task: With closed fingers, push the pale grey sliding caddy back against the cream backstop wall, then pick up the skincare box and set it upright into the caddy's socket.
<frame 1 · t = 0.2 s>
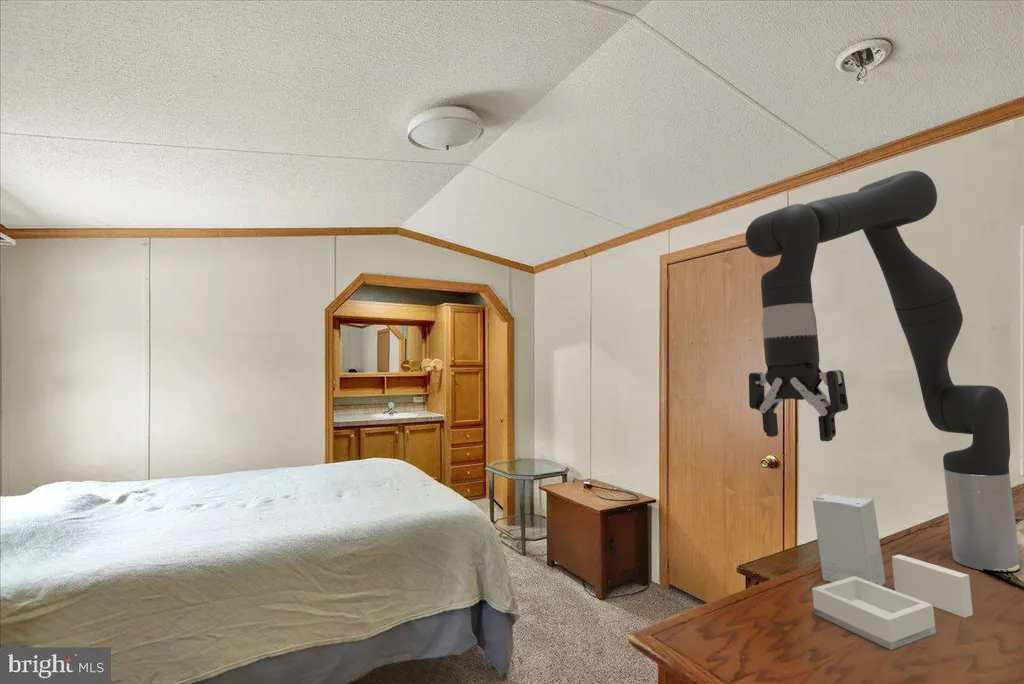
hand: (798, 438, 80), 28 cm above the table, fingers open, 8 cm apart
skincare box: (852, 583, 92), on the table
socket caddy: (871, 609, 78), point 2 cm above the table, slide at 8.0 cm
backstop wall: (932, 603, 82), on the table
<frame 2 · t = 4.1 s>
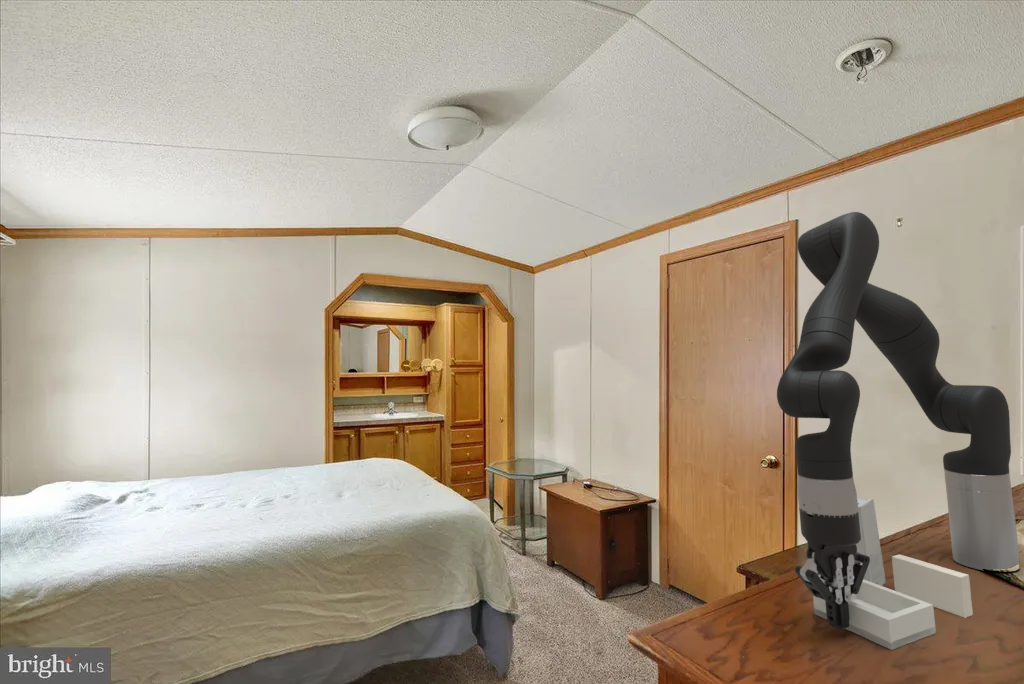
hand: (838, 626, 75), 1 cm above the table, fingers closed
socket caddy: (871, 609, 78), point 2 cm above the table, slide at 8.0 cm, touching gripper
everything else where it was.
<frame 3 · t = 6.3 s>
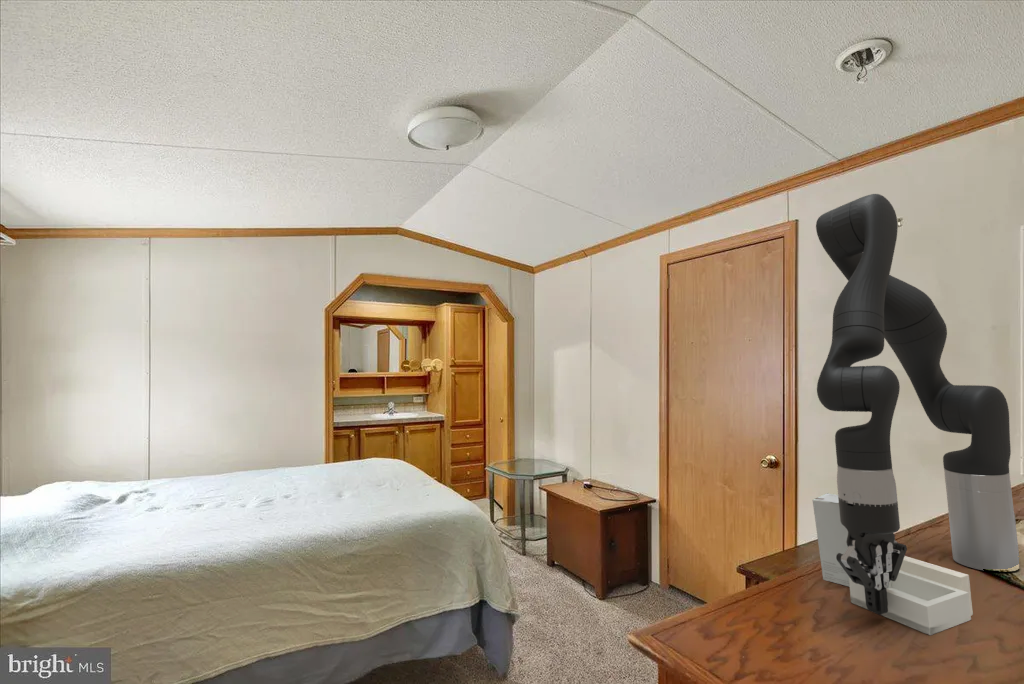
hand: (877, 611, 78), 2 cm above the table, fingers closed
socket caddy: (907, 597, 81), point 2 cm above the table, slide at -0.3 cm, touching backstop wall, gripper
everything else where it was.
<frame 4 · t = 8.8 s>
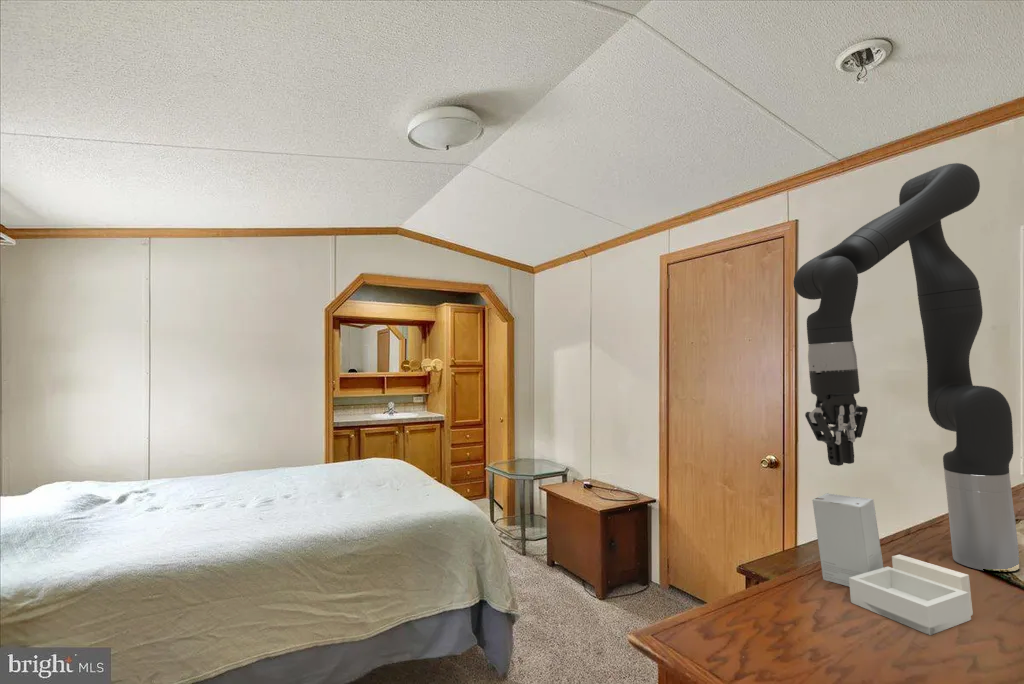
hand: (841, 463, 93), 21 cm above the table, fingers closed
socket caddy: (907, 597, 81), point 2 cm above the table, slide at -0.3 cm, touching backstop wall
everything else where it was.
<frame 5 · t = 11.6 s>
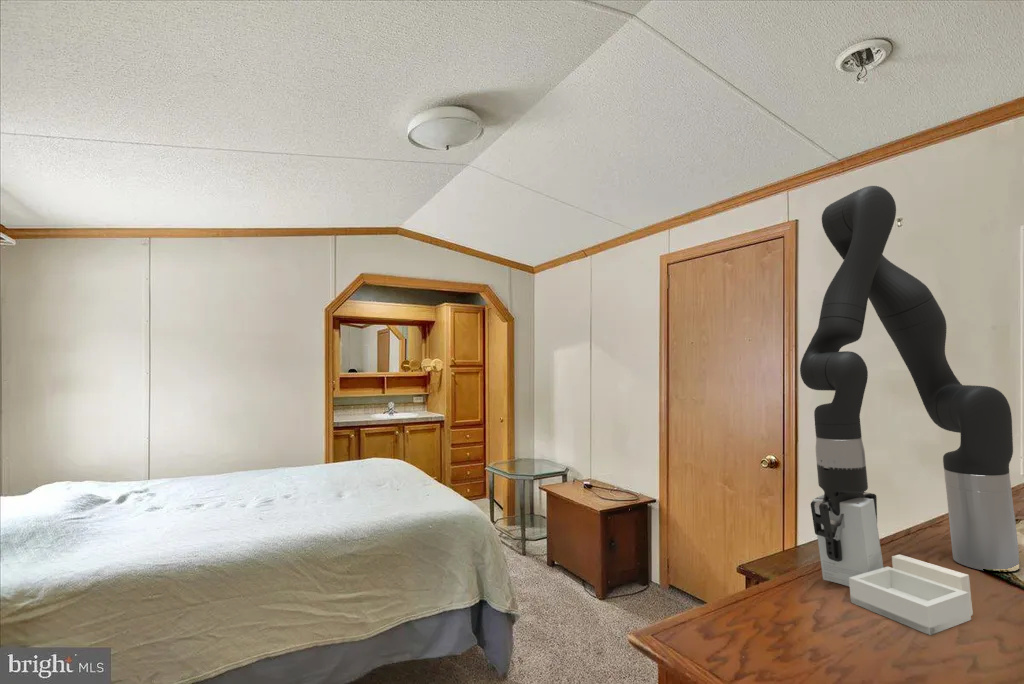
hand: (848, 556, 92), 5 cm above the table, fingers closed on skincare box, 6 cm apart
skincare box: (851, 583, 92), on the table, touching gripper
everything else where it was.
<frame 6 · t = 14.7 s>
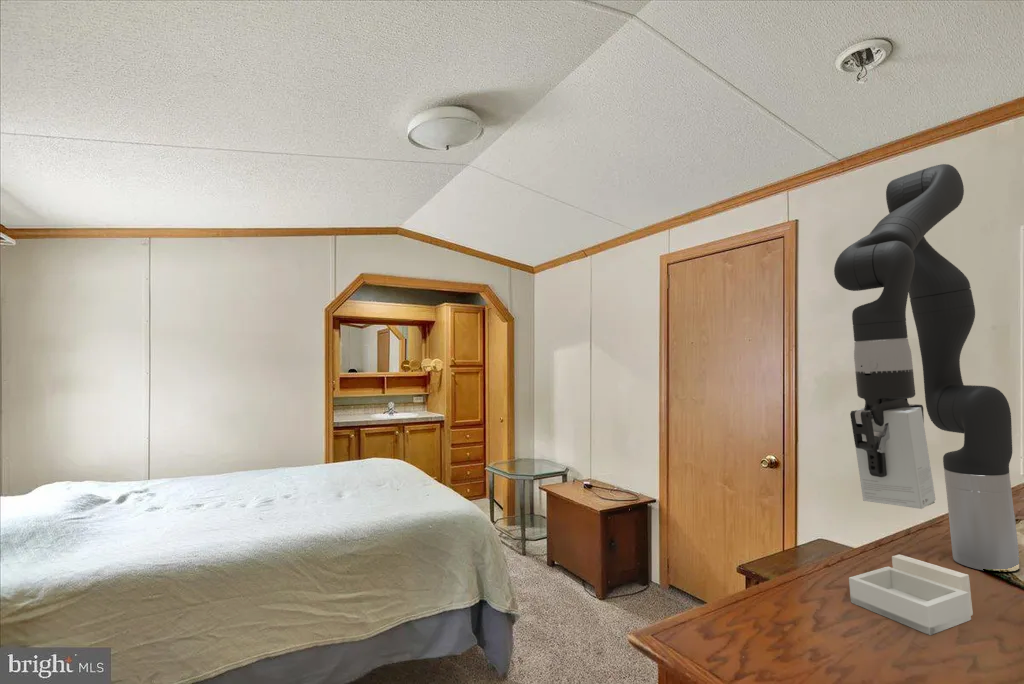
hand: (893, 472, 82), 21 cm above the table, fingers closed on skincare box, 6 cm apart
skincare box: (896, 503, 81), point 17 cm above the table, touching gripper
everything else where it was.
when the fingers open (7 cm above the table, at t = 17.9 s): skincare box drops 1 cm, resting on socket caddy.
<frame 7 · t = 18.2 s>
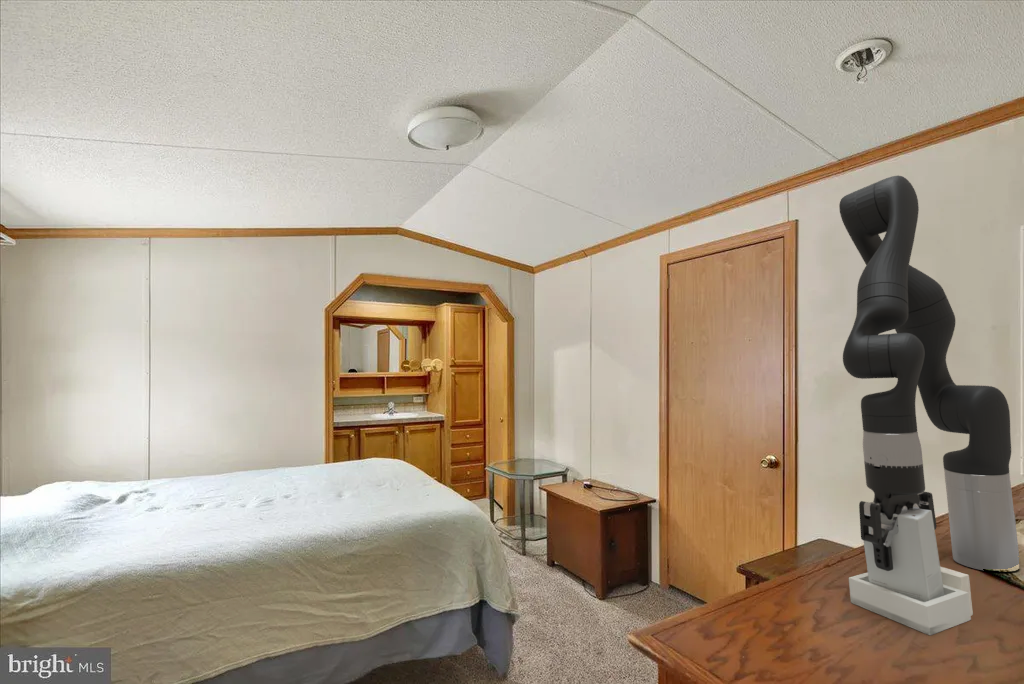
hand: (902, 563, 81), 7 cm above the table, fingers open, 8 cm apart
skincare box: (905, 606, 80), point 1 cm above the table, touching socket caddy
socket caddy: (906, 597, 81), point 2 cm above the table, slide at -0.3 cm, touching skincare box
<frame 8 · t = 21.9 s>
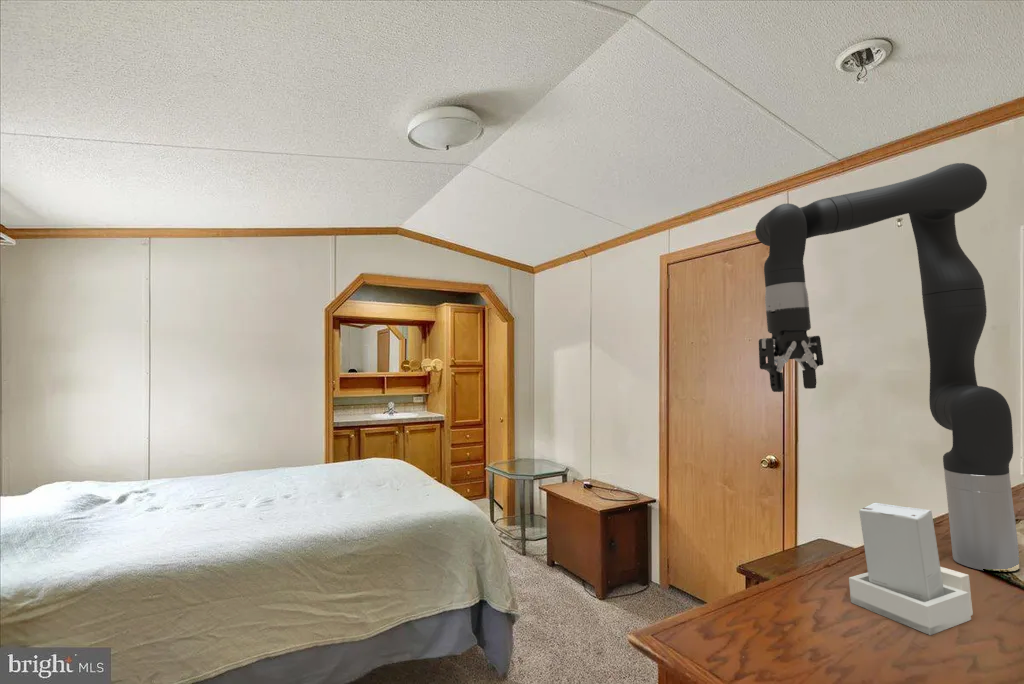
hand: (794, 390, 101), 34 cm above the table, fingers open, 8 cm apart
nothing on the table moved.
at the end: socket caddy slide at -0.3 cm; skincare box 0.3 cm off-centre on the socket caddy, point 0.8 cm above the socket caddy's base; skincare box tilted 0° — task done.
